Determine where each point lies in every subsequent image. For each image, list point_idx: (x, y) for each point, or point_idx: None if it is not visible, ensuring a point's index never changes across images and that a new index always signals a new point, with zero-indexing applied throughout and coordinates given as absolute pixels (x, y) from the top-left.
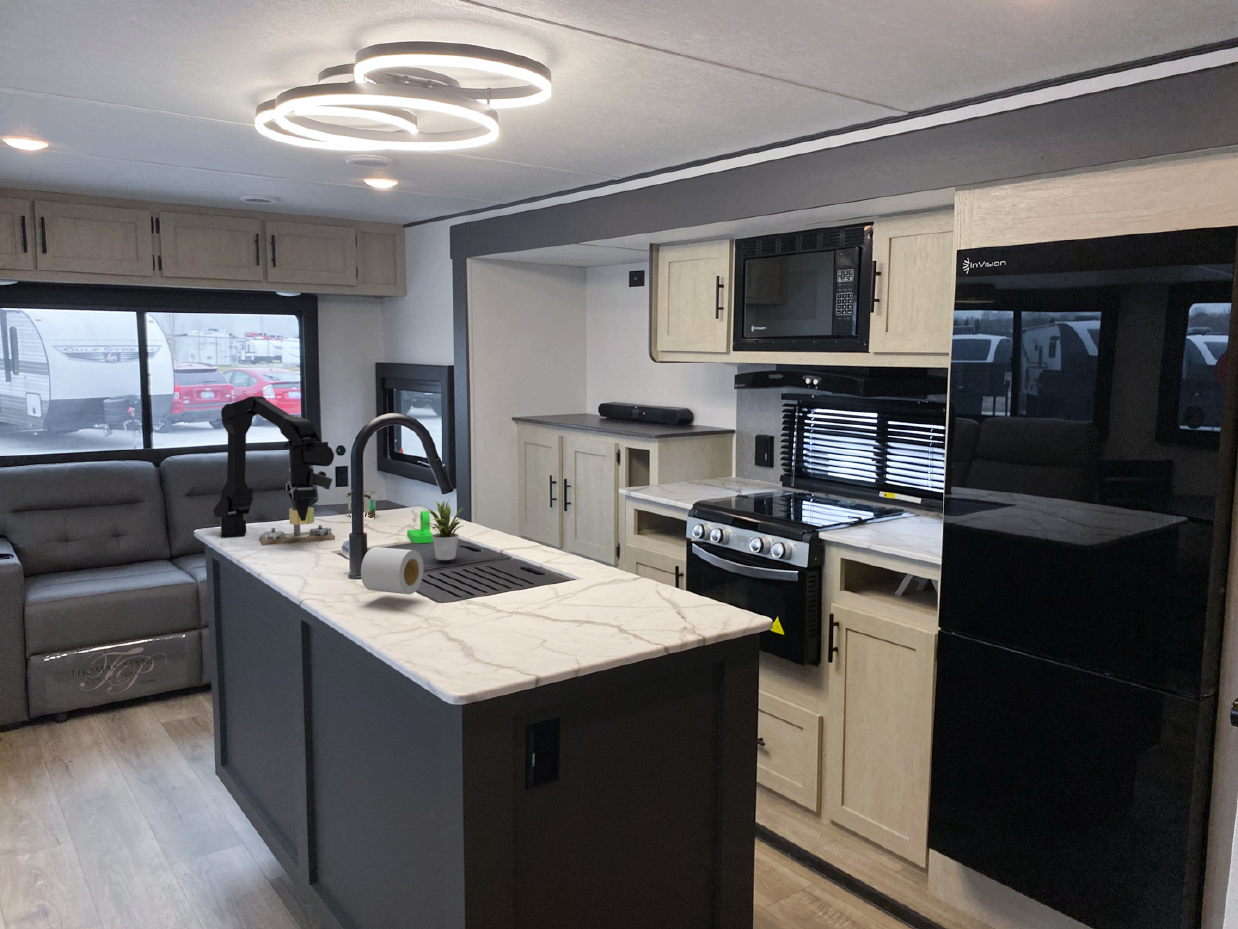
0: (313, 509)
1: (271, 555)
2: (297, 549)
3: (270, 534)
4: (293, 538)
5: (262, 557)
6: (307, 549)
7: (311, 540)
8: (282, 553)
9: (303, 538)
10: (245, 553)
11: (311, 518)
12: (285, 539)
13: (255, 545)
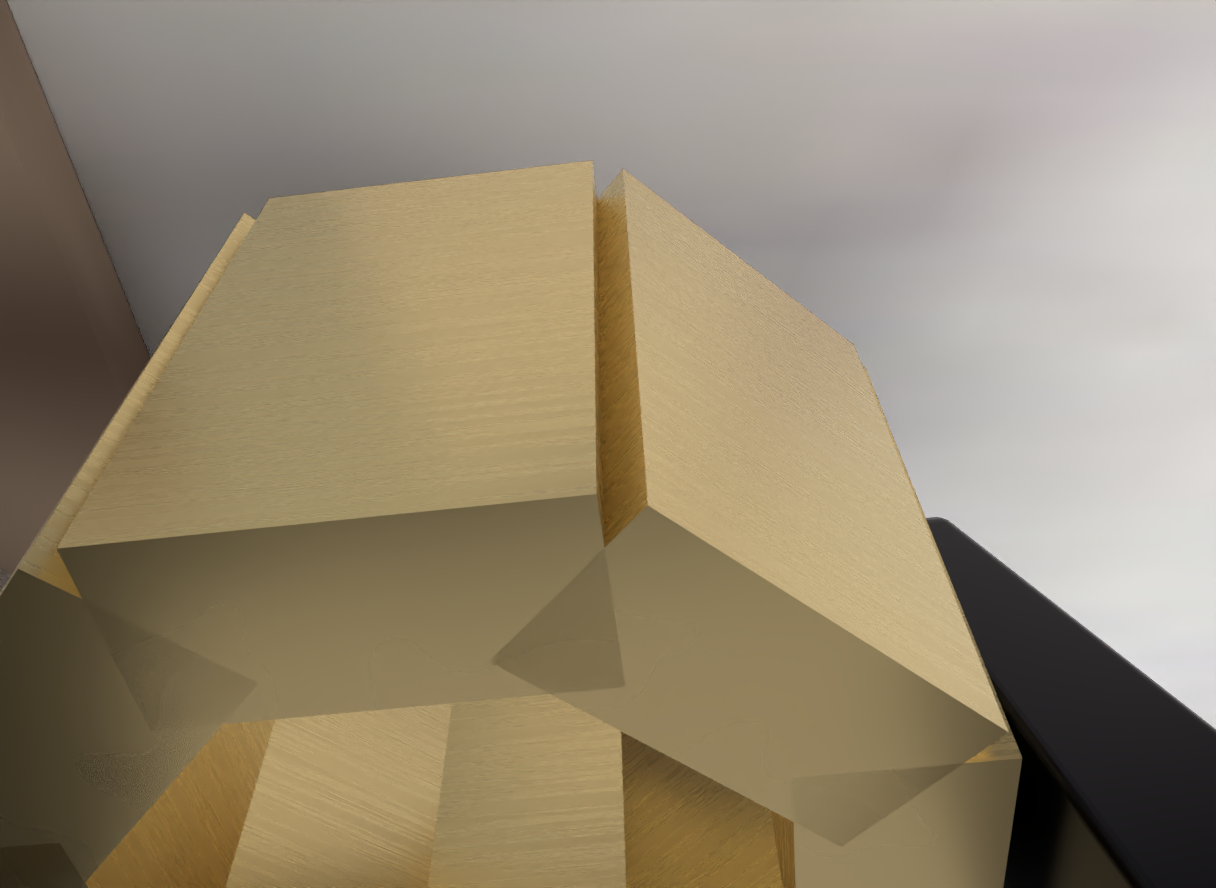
0: (657, 485)
1: (1119, 622)
2: (795, 297)
3: None
4: (53, 408)
5: (1195, 704)
6: (874, 120)
7: (2, 36)
8: (1047, 503)
9: (45, 227)
10: None
11: (756, 338)
12: None
13: None
